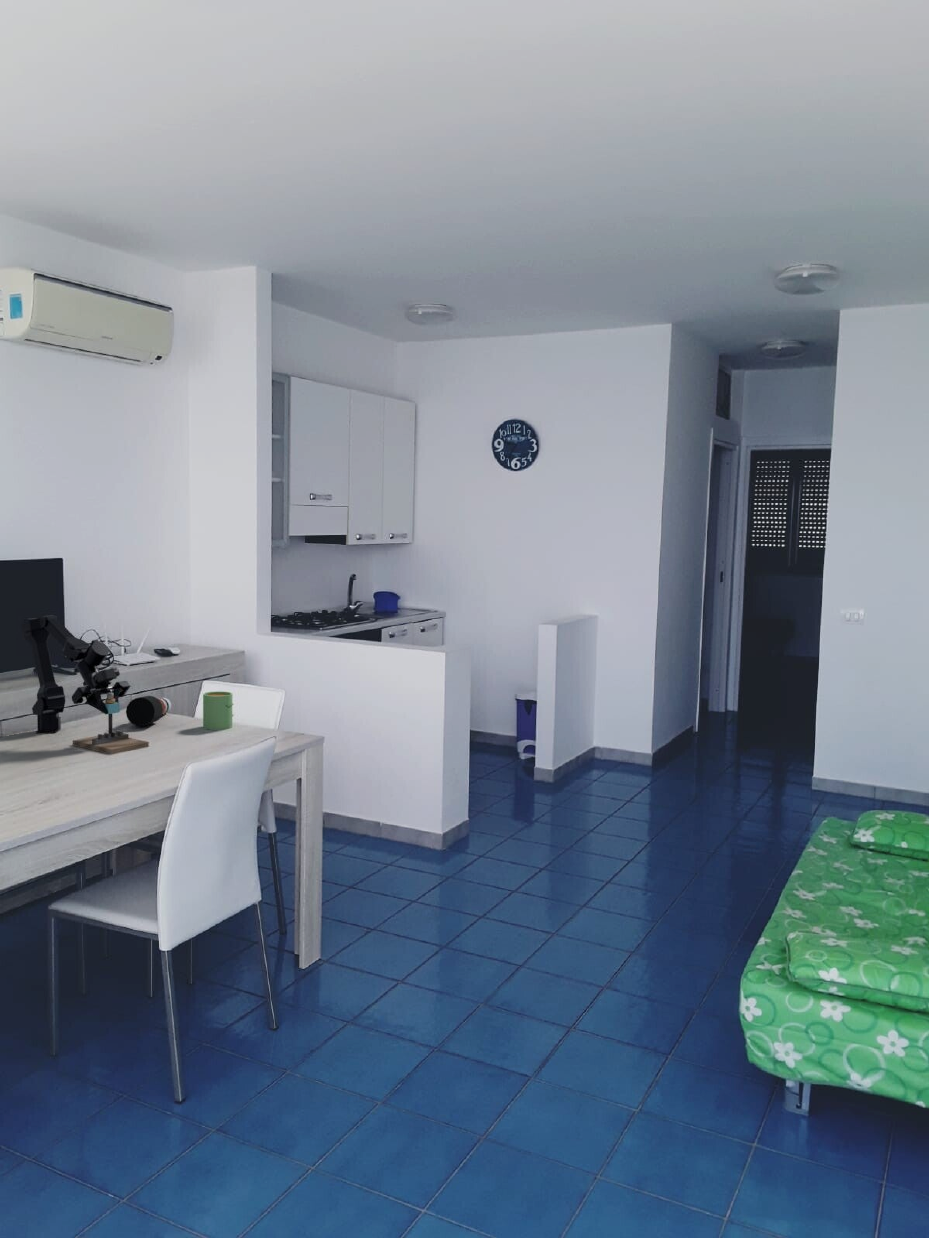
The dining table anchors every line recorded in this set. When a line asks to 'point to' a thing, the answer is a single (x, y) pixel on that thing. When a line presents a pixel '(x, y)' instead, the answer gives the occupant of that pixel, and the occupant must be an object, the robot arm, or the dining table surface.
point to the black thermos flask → (147, 710)
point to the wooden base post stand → (111, 738)
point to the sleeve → (112, 707)
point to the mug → (217, 710)
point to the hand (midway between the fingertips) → (113, 712)
